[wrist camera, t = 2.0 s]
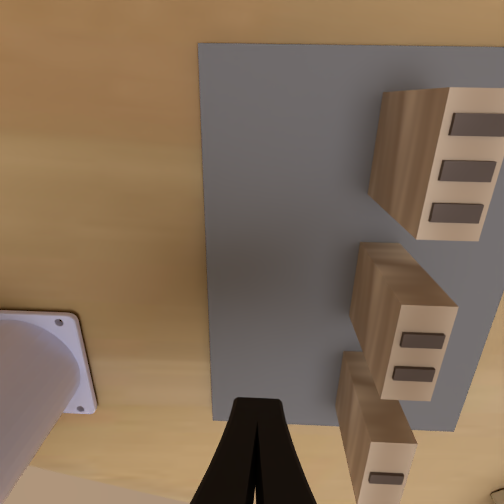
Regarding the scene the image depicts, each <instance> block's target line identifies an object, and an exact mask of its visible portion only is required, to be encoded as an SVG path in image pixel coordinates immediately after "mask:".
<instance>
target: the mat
mask: <svg viewBox="0 0 504 504" xmlns="http://www.w3.org/2000/svg"><path fill="white" fill-rule="evenodd" d="M198 59H199V84H200V109H201V134H202V159H203V185H204V210H205V235H206V260H207V285H208V311H209V336H210V361H211V386H212V411H213V420H215V421H228V419H229V416H230V413H231V409H232V406H233V401H234V399H235V398H237V397H250V398H273V399H280V400H281V401H282V404H283V410H284V414H285V419H286V422H287V424H300V425H321V426H339V422H338V418H337V413H336V409H335V404H336V397H337V391H338V384H339V378H340V371H341V364H342V358H343V351H356V352H363V351H362V349H361V346H360V343H359V341H358V338H357V335H356V333H355V330H354V328H353V325H352V322H351V320H350V317H349V312H350V306H351V299H352V293H353V286H354V280H355V273H356V266H357V260H358V253H359V247H360V242H377V243H400V244H401V245H402V246H403V247H404V248H405V250H406V251H407V252H408V253H409V254H410V255H411V256H412V257H413V258H414V259H415V260H416V261H417V262H418V264H419V265H420V266H421V267H422V268H423V269H424V270H425V271H426V272H427V273H428V274H429V275H430V276H431V278H432V279H433V280H434V281H435V282H436V283H437V284H438V285H439V286H440V287H441V288H442V289H443V290H444V292H445V293H446V294H447V295H448V296H449V297H450V298H451V299H452V300H453V301H454V302H455V303H456V304H457V306H458V307H459V308H458V311H457V315H456V318H455V321H454V324H453V328H452V331H451V334H450V338H449V341H448V344H447V348H446V351H445V354H444V358H443V361H442V364H441V368H440V371H439V374H438V378H437V381H436V384H435V388H434V391H433V394H432V398H431V401H411V400H399V403H400V405H401V407H402V410H403V412H404V414H405V416H406V419H407V421H408V423H409V426H410V428H411V430H428V431H450V432H454V430H455V427H456V424H457V421H458V419H459V416H460V413H461V410H462V407H463V405H464V402H465V399H466V396H467V393H468V390H469V388H470V385H471V382H472V379H473V376H474V373H475V371H476V368H477V365H478V362H479V359H480V356H481V354H482V351H483V348H484V345H485V342H486V339H487V337H488V334H489V331H490V328H491V325H492V322H493V320H494V317H495V314H496V311H497V308H498V305H499V303H500V300H501V297H502V294H503V291H504V158H503V161H502V165H501V168H500V171H499V175H498V178H497V181H496V185H495V188H494V191H493V195H492V198H491V201H490V205H489V208H488V211H487V215H486V218H485V221H484V225H483V228H482V231H481V235H480V238H479V241H448V240H416V239H415V238H414V237H413V236H412V235H411V234H410V233H409V232H408V231H406V230H405V229H404V228H403V227H402V226H401V225H400V224H399V223H398V222H397V221H396V220H395V219H394V218H392V217H391V216H390V215H389V214H388V213H387V212H386V211H385V210H384V209H383V208H382V207H381V206H380V205H379V204H377V203H376V202H375V201H374V200H373V199H372V198H371V197H370V196H369V195H368V188H369V181H370V175H371V168H372V162H373V155H374V149H375V142H376V136H377V129H378V123H379V116H380V110H381V103H382V96H383V92H393V91H406V90H420V89H433V88H446V87H466V88H504V47H457V46H381V45H305V44H228V43H198Z"/></svg>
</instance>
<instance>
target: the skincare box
mask: <svg viewBox="0 0 504 504" xmlns="http://www.w3.org/2000/svg"><path fill="white" fill-rule="evenodd" d="M491 497H492V499H493V501H494V502H495V504H504V489H503V490H500V491H497V492H494V493H492V494H491Z"/></svg>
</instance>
